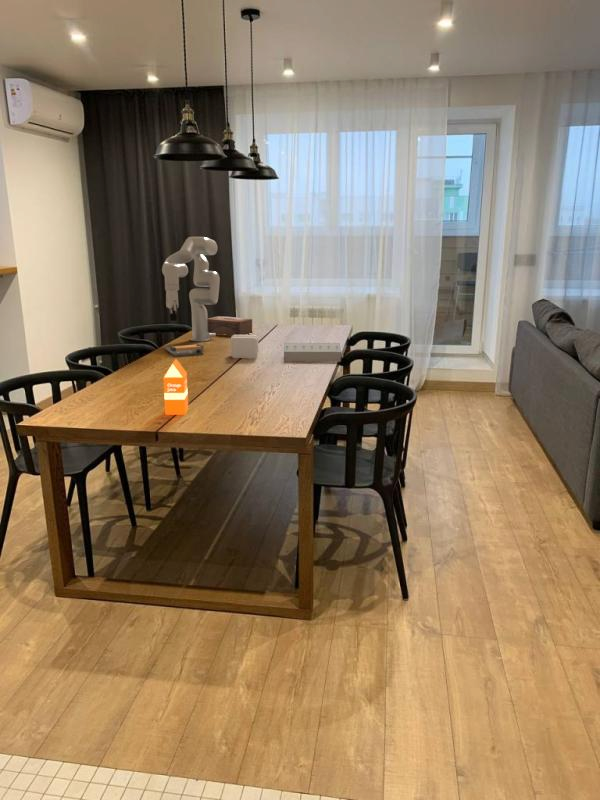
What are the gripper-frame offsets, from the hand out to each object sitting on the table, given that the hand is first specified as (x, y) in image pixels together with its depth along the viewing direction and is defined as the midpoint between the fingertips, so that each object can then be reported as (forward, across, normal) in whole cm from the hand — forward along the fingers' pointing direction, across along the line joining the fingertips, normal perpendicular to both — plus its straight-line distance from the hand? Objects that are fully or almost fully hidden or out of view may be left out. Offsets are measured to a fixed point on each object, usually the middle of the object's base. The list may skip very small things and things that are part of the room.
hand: (173, 320), depth 348 cm
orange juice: (+19, +114, -27) cm, 119 cm away
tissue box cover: (+17, -44, +47) cm, 67 cm away
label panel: (+18, +3, +4) cm, 18 cm away
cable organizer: (+18, +29, +31) cm, 46 cm away
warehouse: (+18, +48, +63) cm, 81 cm away
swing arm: (+15, +9, +5) cm, 18 cm away
